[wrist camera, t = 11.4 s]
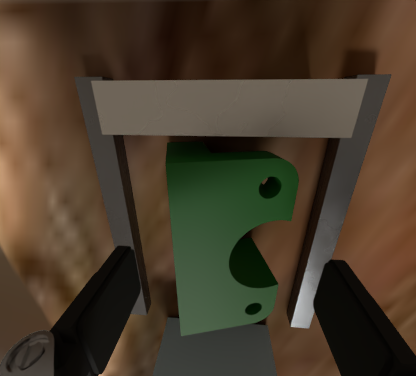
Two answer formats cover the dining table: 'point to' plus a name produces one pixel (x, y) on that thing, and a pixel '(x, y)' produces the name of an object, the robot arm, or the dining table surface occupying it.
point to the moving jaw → (215, 352)
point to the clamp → (224, 232)
